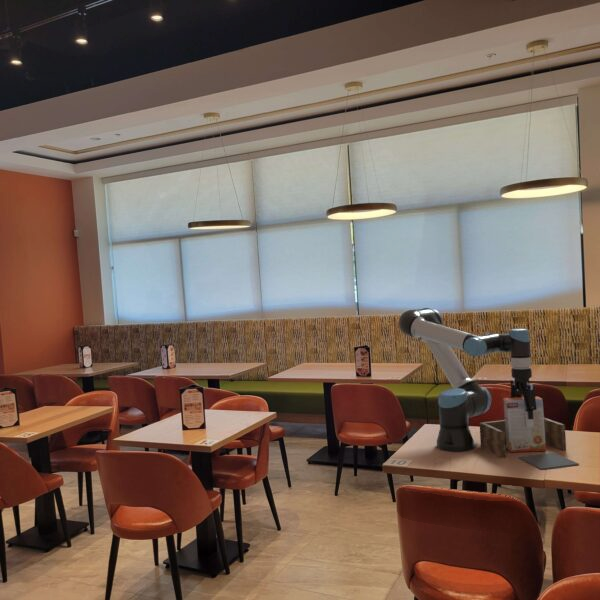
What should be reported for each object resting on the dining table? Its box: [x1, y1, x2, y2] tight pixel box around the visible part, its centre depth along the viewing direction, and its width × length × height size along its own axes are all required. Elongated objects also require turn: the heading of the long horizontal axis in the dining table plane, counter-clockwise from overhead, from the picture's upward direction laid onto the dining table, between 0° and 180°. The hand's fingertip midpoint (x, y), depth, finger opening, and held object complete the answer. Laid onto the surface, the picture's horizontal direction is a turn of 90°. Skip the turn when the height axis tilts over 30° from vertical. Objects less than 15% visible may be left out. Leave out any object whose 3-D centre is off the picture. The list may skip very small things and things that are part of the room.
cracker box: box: [502, 395, 547, 453], centre depth 230 cm, size 14×6×21 cm, turn 84°
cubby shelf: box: [479, 417, 567, 459], centre depth 232 cm, size 17×28×10 cm, turn 100°
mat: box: [517, 452, 580, 471], centre depth 214 cm, size 15×15×1 cm
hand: (524, 424), depth 230 cm, fingers closed on cracker box, 7 cm apart
